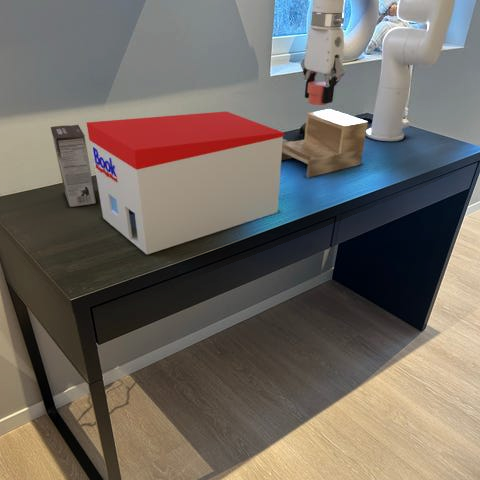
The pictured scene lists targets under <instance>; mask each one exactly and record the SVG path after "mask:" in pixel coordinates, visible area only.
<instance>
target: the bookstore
mask: <svg viewBox="0 0 480 480" xmlns="http://www.w3.org/2000/svg"><path fill="white" fill-rule="evenodd" d="M86 129H87V134H88V140H89V141H90V148H91V153H92V154H91V155H92V160H93V165H94V166H93V167H94V171H95V177H96V184H97V189H98V195H99V201H100V208H101V213H102V218H103V220H105V221H106V222H107V223H109V224H110V226H112V227H113V228H114V229H115V230H116V231H118V232H119V233H120V234H121V235H123V236H124V237H125V238H126V239H127V240H129V241H130V242H131V243H132V244H133V245H135V247H137V248H138V249H139V250H141V251H142V252H143V253H144V254H145V255H150V254H153V253H156V252H159V251H162V250H165V249H169V248H171V247H174V246H178V245H182V244H185V243H187V242H190V241H193V240H197V239H200V238H203V237H205V236H208V235H212V234H215V233H218V232H222V231H224V230H227V229H231V228H234V227H236V226H240V225H243V224H246V223H249V222H252V221H255V220H257V219H261V218H264V217H267V216H270V215H273V214H277V213H278V212H279V197H280V183H281V168H282V160H281V156H282V141H283V139H284V132H283V131H281V130H280V131H278V130H279V129H278V130H277V129H275V128H272V127H270V126H268V125H264V124H262V123H259V122H256V121H253V120H251V119H248V118H245V117H243V116H240V115H238V114H235V113H232V112H229V111H214V112H213V111H212V112H201V113H189V114H188V113H187V114H176V115H164V116H150V117H137V118H136V117H135V118H126V119H112V120H111V119H110V120H99V121H88V122H86Z"/></svg>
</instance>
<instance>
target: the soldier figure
mask: <svg viewBox="0 0 480 480" xmlns="http://www.w3.org/2000/svg"><path fill="white" fill-rule="evenodd" d="M276 130H278V131H281V130H280V128H278V129H276ZM290 142H294V140H290V141H288V140H286V139H284V138H283V141H282V143H283V144H285V143H290Z"/></svg>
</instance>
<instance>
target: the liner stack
mask: <svg viewBox="0 0 480 480" xmlns="http://www.w3.org/2000/svg"><path fill="white" fill-rule="evenodd" d="M324 87H326V84H325V81H323V80H322V81H321V80H314V81H312V82H309V83H308V90H307V92H308V93H309V98H307V100H308V102H307V103H308V104H310V105H313V106H326V105H328V104H329V103H326V104H323V103H322V97H323V88H324Z"/></svg>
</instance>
